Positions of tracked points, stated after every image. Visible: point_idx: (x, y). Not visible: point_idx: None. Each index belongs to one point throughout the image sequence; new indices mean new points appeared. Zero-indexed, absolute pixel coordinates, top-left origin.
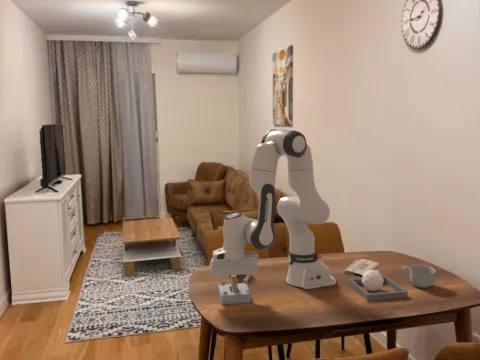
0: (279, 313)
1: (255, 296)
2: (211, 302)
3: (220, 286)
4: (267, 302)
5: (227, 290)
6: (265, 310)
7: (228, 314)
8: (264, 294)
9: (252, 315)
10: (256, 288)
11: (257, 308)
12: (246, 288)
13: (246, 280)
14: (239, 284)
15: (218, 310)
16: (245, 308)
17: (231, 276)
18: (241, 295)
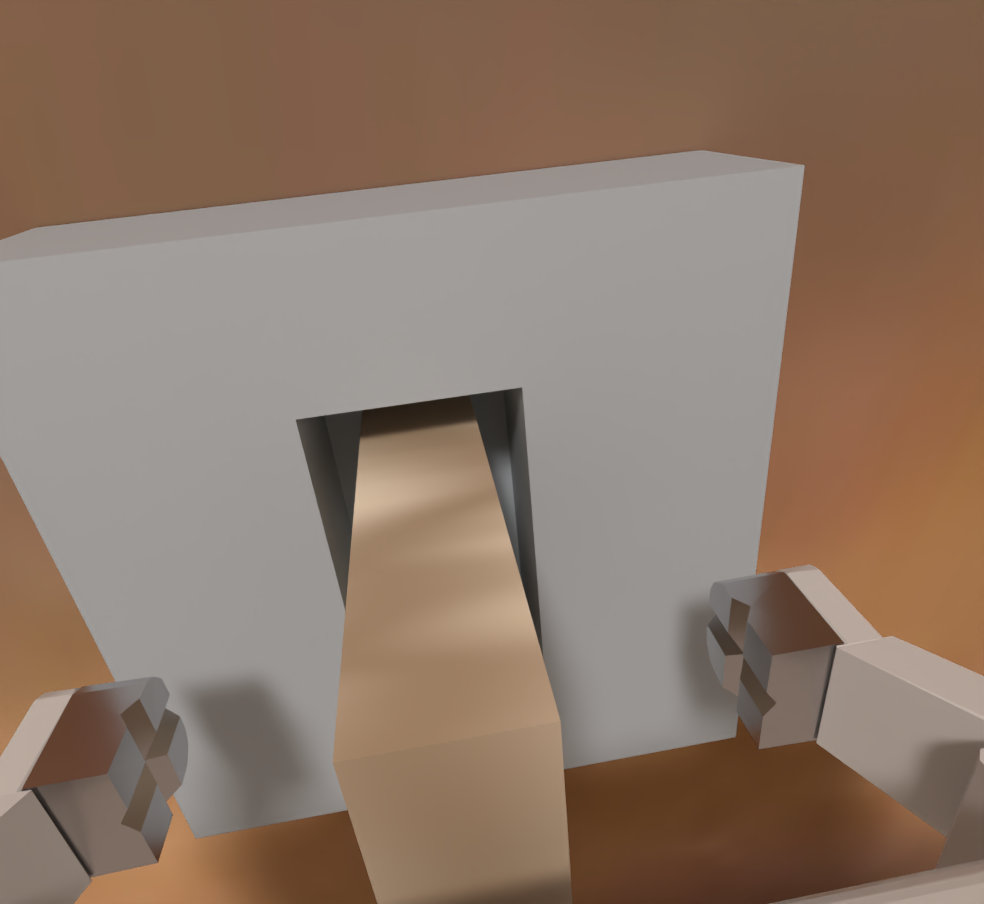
0: (893, 833)
1: (802, 443)
2: (33, 662)
3: (32, 408)
4: (891, 629)
5: (282, 637)
6: (783, 798)
7: (355, 899)
8: (980, 365)
9: (617, 888)
10: (974, 17)
11: (711, 768)
12: (720, 528)
13: (828, 735)
14: (600, 279)
15: (214, 845)
16: (568, 779)
17: (365, 835)
18: (563, 752)
